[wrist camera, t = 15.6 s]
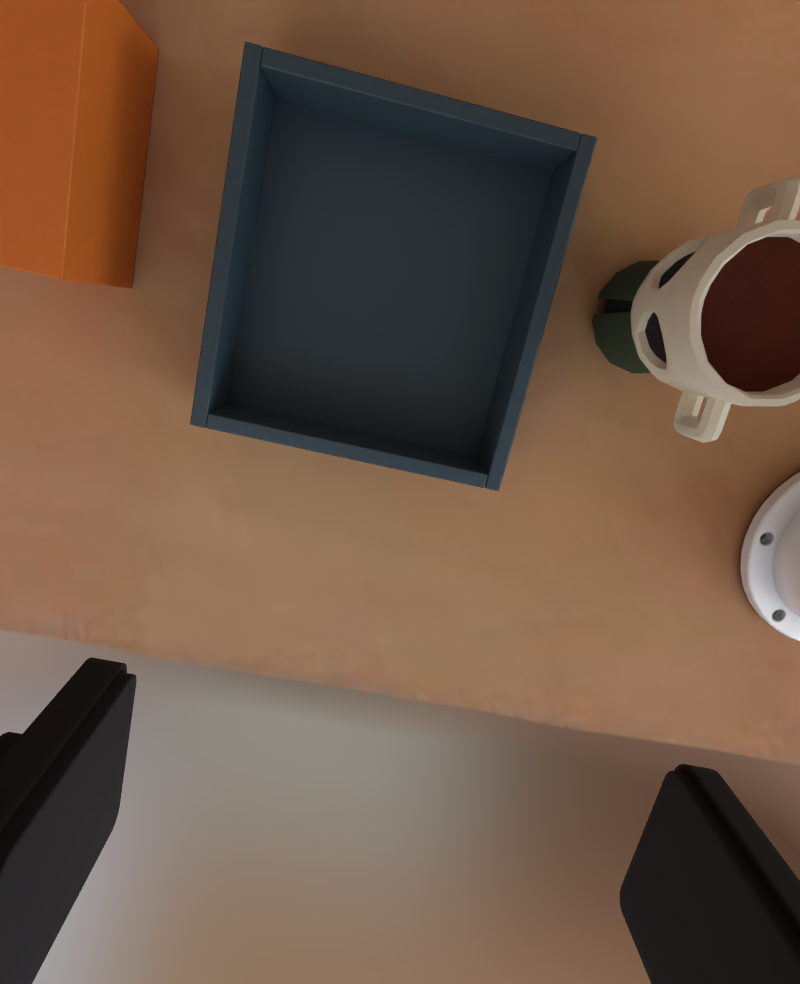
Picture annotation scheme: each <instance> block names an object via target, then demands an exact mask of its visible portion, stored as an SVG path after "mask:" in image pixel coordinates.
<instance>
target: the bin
mask: <svg viewBox="0 0 800 984" xmlns="http://www.w3.org/2000/svg"><path fill="white" fill-rule="evenodd" d="M596 141H597V138H596V137H593V136H589V135H585V134H580V133H578V132H574V131H570V130H567V129H563V128H559V127H556V126H552V125H548V124H545V123H541V122H537V121H534V120H530V119H526V118H523V117H519V116H515V115H512V114H508V113H504V112H501V111H497V110H493V109H490V108H486V107H482V106H479V105H475V104H471V103H468V102H464V101H460V100H457V99H453V98H449V97H446V96H442V95H438V94H435V93H431V92H427V91H424V90H420V89H416V88H413V87H409V86H405V85H402V84H398V83H394V82H391V81H387V80H383V79H380V78H376V77H372V76H369V75H365V74H361V73H358V72H354V71H350V70H347V69H343V68H339V67H336V66H332V65H328V64H325V63H321V62H317V61H314V60H310V59H306V58H303V57H299V56H295V55H292V54H288V53H284V52H281V51H277V50H273V49H270V48H266V47H262V46H260V45H256V44H252V43H249V42H245V45H244V52H243V59H242V66H241V73H240V79H239V86H238V93H237V100H236V107H235V114H234V121H233V128H232V135H231V142H230V149H229V156H228V163H227V170H226V177H225V184H224V191H223V198H222V205H221V212H220V219H219V226H218V233H217V240H216V247H215V254H214V261H213V268H212V275H211V282H210V289H209V296H208V303H207V310H206V317H205V324H204V331H203V338H202V345H201V352H200V359H199V366H198V373H197V380H196V387H195V394H194V401H193V408H192V415H191V422H190V424H191V425H194V426H199V427H203V428H209V429H213V430H218V431H222V432H227V433H232V434H236V435H241V436H246V437H250V438H255V439H260V440H264V441H269V442H273V443H278V444H283V445H287V446H292V447H297V448H301V449H306V450H310V451H315V452H320V453H324V454H329V455H334V456H338V457H343V458H348V459H352V460H357V461H361V462H366V463H371V464H375V465H380V466H385V467H389V468H394V469H399V470H403V471H408V472H412V473H417V474H422V475H426V476H431V477H436V478H440V479H445V480H450V481H454V482H459V483H463V484H468V485H473V486H477V487H482V488H484V487H485V488H487V489H491V490H496V491H499V489H500V485H501V482H502V478H503V475H504V471H505V467H506V464H507V460H508V457H509V453H510V450H511V446H512V442H513V439H514V435H515V432H516V428H517V424H518V421H519V417H520V414H521V410H522V407H523V403H524V399H525V396H526V392H527V389H528V385H529V382H530V378H531V374H532V371H533V367H534V364H535V360H536V356H537V353H538V349H539V346H540V342H541V339H542V335H543V331H544V328H545V324H546V321H547V317H548V313H549V310H550V306H551V303H552V299H553V296H554V292H555V288H556V285H557V281H558V278H559V274H560V270H561V267H562V263H563V260H564V256H565V253H566V249H567V245H568V242H569V238H570V235H571V231H572V227H573V224H574V220H575V217H576V213H577V210H578V206H579V202H580V199H581V195H582V192H583V188H584V184H585V181H586V177H587V174H588V170H589V167H590V163H591V159H592V156H593V152H594V149H595V145H596Z"/></svg>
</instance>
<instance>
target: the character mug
mask: <svg viewBox="0 0 800 984" xmlns="http://www.w3.org/2000/svg"><path fill="white" fill-rule="evenodd" d="M799 207H800V178H796V177H791V178H786V179H782V180H779V181H776V182H774V183H771V184H768V185H765V186H762V187H759V188H757V189H754V190H753V191H752V192H751V193H749V194H748V196H747V198H746V200H745V202H744V204H743V207H742V210H741V213H740V216H739V219H738V222H737V226H736V228H734V229H729V230H725V231H721V232H717V233H714V234H710V235H706V236H702V237H698V238H694V239H692V240H689V241H686V242H685V243H684V244H682V245H681V246H679V247H678V248H676V249H674V250H672V251H671V252H669V253H668V254H667V255H666V256H665V257H664V258H663V259H662V260H661V261H639V262H637V263H635V264H633V265H631V266H629V267H627V268H625V269H623V270H621V271H619V272H617V273H616V274H615V275H614V276H613V277H612V279H611V280H610V281H609V282H608V283H607V284H606V286H605V287H604V288H603V289H602V290H601V291H600V294H599V298H598V299H611V300H610V302H609V303H608V305H607V307H606V314H594V316H593V319H592V324H593V329H594V334H595V340H596V344H597V345H598V347H599V348H600V349H601V351H602V352H603V354H604V355H605V356H606V358H607V359H608V360H609V362H610V363H612V364H614V365H616V366H618V367H620V368H623V369H625V370H627V371H629V372H631V373H652V374H653V375H654V376H655V377H656V378H657V379H658V380H659V381H662V382H664V383H666V384H668V385H670V386H672V387H674V388H676V389H678V390H680V391H682V395H681V398H680V401H679V404H678V407H677V410H676V414H675V417H674V422H673V427H674V428H675V430H676V431H678V432H679V433H680V434H681V435H684V436H687V437H689V438H692V439H695V440H697V441H700V442H703V443H705V442H710V441H714V440H717V439H718V437H719V435H720V434H721V432H722V429H723V426H724V423H725V421H726V418H727V415H728V412H729V409H730V406H731V404H735V405H740V406H785V405H788V404H790V403H793V402H795V401H798V400H800V220H795V218H796V215H797V213H798V210H799ZM769 208H771V211H770V214H769V217H768V220H767V221H764V222H762V221H763V218H764V215H765V213H766V211H767V210H768V209H769ZM704 397H706V398H708V399H707V402H706V405H705V408H704V411H703V414H702V417H701V418H698V417H697V416H698V413H699V410H700V407H701V404H702V401H703V398H704Z"/></svg>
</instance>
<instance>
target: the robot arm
mask: <svg viewBox="0 0 800 984" xmlns="http://www.w3.org/2000/svg"><path fill="white" fill-rule="evenodd" d="M740 572H741V578H742V584H743V588H744V590H745V593H746V595H747V598H748V600H749V602H750V604H751V605H752V606H753V608H754V609H755V611H756V612H757V614H758V615H759V616H760V617H762V618H763V619H764V620H765V621H766V622H767V623H768V624H769V625H771V626H772V627H774V628H775V629H776V630H778V631H779V632H781V633H782V634H784V635H786V636H788V637H790V638H793V639H795V640H797V641H800V472H799V473H797V474H795V475H793V476H792V477H791V478H790V479H788V480H787V481H786V482H784V483H783V484H782V485H781V486H779V487H778V488H777V489H776V490H775V491H774V492H773V493H772V494H771V495H770V496H769V497H768V499H767V500H766V501H765V502H764V503H763V504H762V506H761V507H760V509H759V510H758V512H757V513H756V515H755V516H754V518H753V520H752V522H751V524H750V527H749V529H748V531H747V533H746V536H745V539H744V543H743V548H742V552H741V567H740ZM135 688H136V676H135V675H134V674H128V673H127V667H126V664H125V663H119V662H113V661H108V660H102V659H97V658H89V659H88V660H86V661H85V662H84V664H83V665H82V666H81V667H80V668H79V669H78V670H77V672H76V673H75V674H74V675H73V676H72V677H71V679H70V680H69V681H68V682H67V683H66V684H65V686H64V687H63V688H62V689H61V690H60V691H59V692H58V694H57V695H56V696H55V697H54V698H53V700H52V701H51V702H50V703H49V704H48V705H47V706H46V708H45V709H44V710H43V711H42V712H41V714H39V716H38V717H37V718H36V719H35V721H33V723H32V724H31V725H30V726H29V727H28V728H27V730H26V731H25V732H24V733H23V734H19V733H12V732H7V733H5V734H2V735H1V736H0V984H32V983H33V981H34V979H35V977H36V975H37V973H38V971H39V969H40V967H41V965H42V963H43V962H44V960H45V958H46V956H47V954H48V952H49V950H50V948H51V946H52V944H53V942H54V941H55V939H56V937H57V935H58V933H59V931H60V929H61V927H62V925H63V923H64V921H65V920H66V918H67V916H68V914H69V912H70V910H71V908H72V906H73V904H74V902H75V900H76V899H77V897H78V895H79V893H80V891H81V889H82V887H83V885H84V883H85V881H86V879H87V877H88V876H89V874H90V872H91V870H92V868H93V866H94V864H95V862H96V860H97V859H98V857H99V855H100V853H101V851H102V849H103V847H104V845H105V843H106V841H107V839H108V837H109V836H110V833H111V832H112V829H113V827H114V824H115V822H116V818H117V815H118V811H119V806H120V799H121V792H122V784H123V776H124V770H125V762H126V755H127V747H128V740H129V733H130V725H131V718H132V710H133V703H134V696H135ZM620 905H621V910H622V913H623V916H624V918H625V921H626V923H627V926H628V928H629V930H630V932H631V935H632V938H633V940H634V943H635V945H636V947H637V950H638V952H639V955H640V957H641V960H642V962H643V964H644V967H645V969H646V972H647V974H648V976H649V979H650V981H651V984H800V881H799V879H798V878H797V877H796V875H795V874H794V873H793V871H792V870H791V869H790V867H789V866H788V865H787V863H786V862H785V861H784V859H783V858H782V857H781V855H780V854H779V853H778V851H777V850H776V849H775V847H774V846H773V845H772V843H771V842H770V841H769V839H768V838H767V837H766V835H765V834H764V833H763V831H762V830H761V829H760V827H759V826H758V825H757V823H756V822H755V821H754V819H753V818H752V817H751V815H750V814H749V813H748V811H747V810H746V809H745V807H744V806H743V805H742V803H741V802H740V801H739V799H738V798H737V797H736V795H735V794H734V793H733V791H732V790H731V789H730V787H729V786H728V785H727V783H726V782H725V781H724V779H723V778H722V777H721V776H720V774H718V772H716V771H715V770H712V769H708V768H703V767H697V766H692V765H686V764H682V765H679V766H678V767H677V768H676V769H675V770H674V771H669V772H668V773H667V774H666V776H665V778H664V781H663V783H662V786H661V788H660V791H659V794H658V796H657V798H656V801H655V803H654V806H653V808H652V811H651V814H650V816H649V818H648V821H647V823H646V826H645V828H644V831H643V833H642V836H641V838H640V841H639V843H638V846H637V848H636V851H635V854H634V856H633V858H632V861H631V864H630V866H629V869H628V871H627V874H626V876H625V879H624V881H623V884H622V886H621V890H620Z"/></svg>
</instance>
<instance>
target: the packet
mask: <svg viewBox="0 0 800 984" xmlns="http://www.w3.org/2000/svg"><path fill="white" fill-rule="evenodd" d="M157 59H158V48H157V47H156V45H155V44H154V43H153V42H152V41H151V39H150V38H149V37H148V36H147V34H146V33H145V32H144V31H143V29H142V28H141V27H140V26H139V25H138V23H137V22H136V21H135V20H134V18H133V17H132V16H131V15H130V13H129V12H128V11H127V10H126V9H125V7H124V6H123V5H122V4H121V2H120V1H119V0H0V265H2V266H6V267H10V268H15V269H19V270H23V271H28V272H32V273H36V274H40V275H45V276H49V277H53V278H58V279H62V280H70V281H78V282H85V283H93V284H101V285H108V286H116V287H124V288H132V281H133V272H134V263H135V255H136V246H137V237H138V228H139V219H140V210H141V201H142V192H143V184H144V175H145V166H146V157H147V148H148V139H149V130H150V121H151V113H152V104H153V95H154V86H155V77H156V68H157Z"/></svg>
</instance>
